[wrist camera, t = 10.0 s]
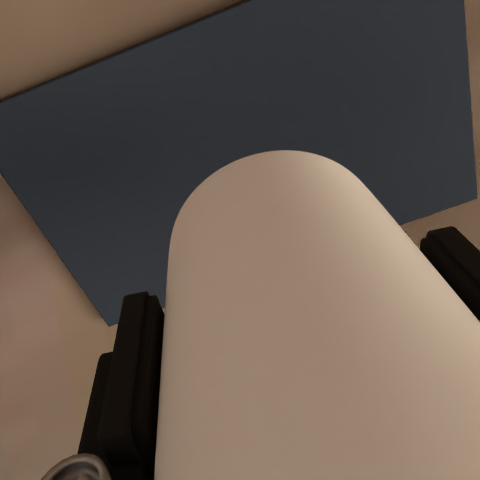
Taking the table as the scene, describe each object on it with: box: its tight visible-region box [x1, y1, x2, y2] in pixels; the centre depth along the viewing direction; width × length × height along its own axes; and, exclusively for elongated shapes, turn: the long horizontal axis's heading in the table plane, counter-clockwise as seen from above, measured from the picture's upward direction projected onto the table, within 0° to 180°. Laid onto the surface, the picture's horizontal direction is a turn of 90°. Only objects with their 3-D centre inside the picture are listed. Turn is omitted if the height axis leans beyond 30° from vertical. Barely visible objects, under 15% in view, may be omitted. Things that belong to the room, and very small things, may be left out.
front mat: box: [0, 0, 477, 326], centre depth 20 cm, size 20×12×1 cm, turn 110°
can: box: [154, 150, 480, 480], centre depth 9 cm, size 6×6×12 cm
